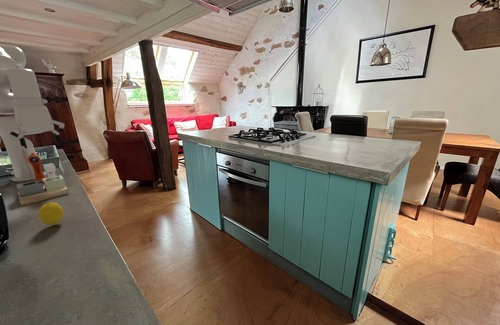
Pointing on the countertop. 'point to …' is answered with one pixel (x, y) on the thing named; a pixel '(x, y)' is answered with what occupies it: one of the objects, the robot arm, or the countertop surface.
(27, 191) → the block
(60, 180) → the pale green hollow frame
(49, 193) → the board
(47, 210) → the lemon
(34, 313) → the countertop surface
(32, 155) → the toy drill
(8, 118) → the robot arm
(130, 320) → the countertop surface
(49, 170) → the light grey block
